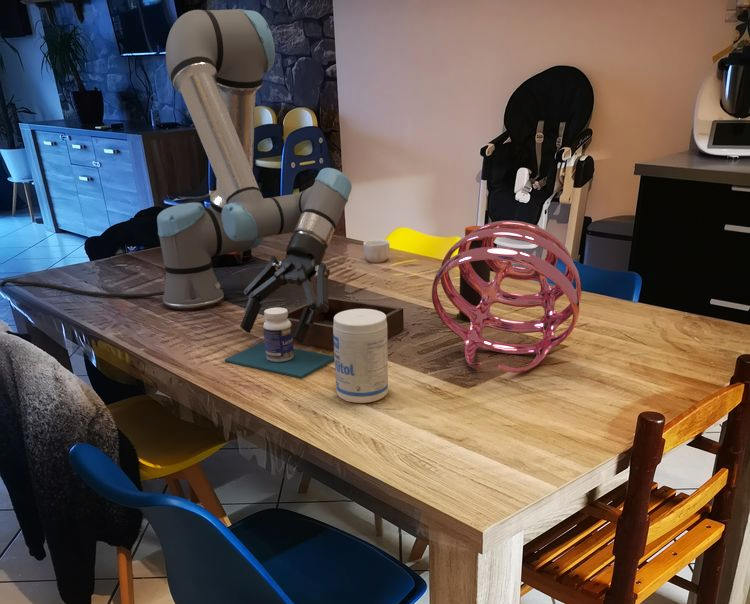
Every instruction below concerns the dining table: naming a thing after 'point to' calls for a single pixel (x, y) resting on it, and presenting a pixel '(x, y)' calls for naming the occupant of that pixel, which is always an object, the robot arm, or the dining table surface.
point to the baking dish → (230, 258)
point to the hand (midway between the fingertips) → (270, 335)
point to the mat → (294, 367)
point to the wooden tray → (323, 333)
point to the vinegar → (480, 269)
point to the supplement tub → (361, 355)
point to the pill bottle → (278, 335)
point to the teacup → (376, 250)
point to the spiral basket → (492, 293)
